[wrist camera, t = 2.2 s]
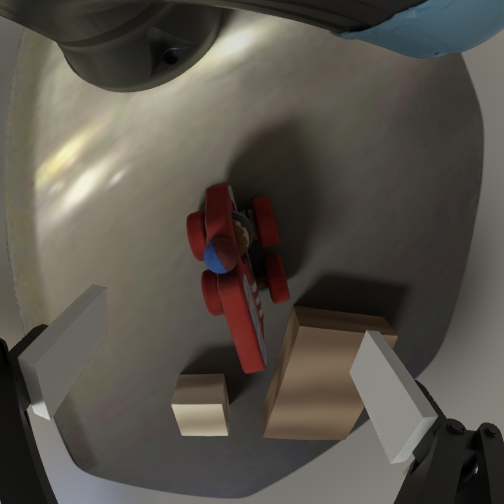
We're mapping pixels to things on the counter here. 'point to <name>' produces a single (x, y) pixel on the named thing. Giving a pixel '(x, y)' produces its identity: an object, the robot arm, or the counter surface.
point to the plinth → (318, 375)
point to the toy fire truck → (237, 267)
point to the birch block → (201, 405)
